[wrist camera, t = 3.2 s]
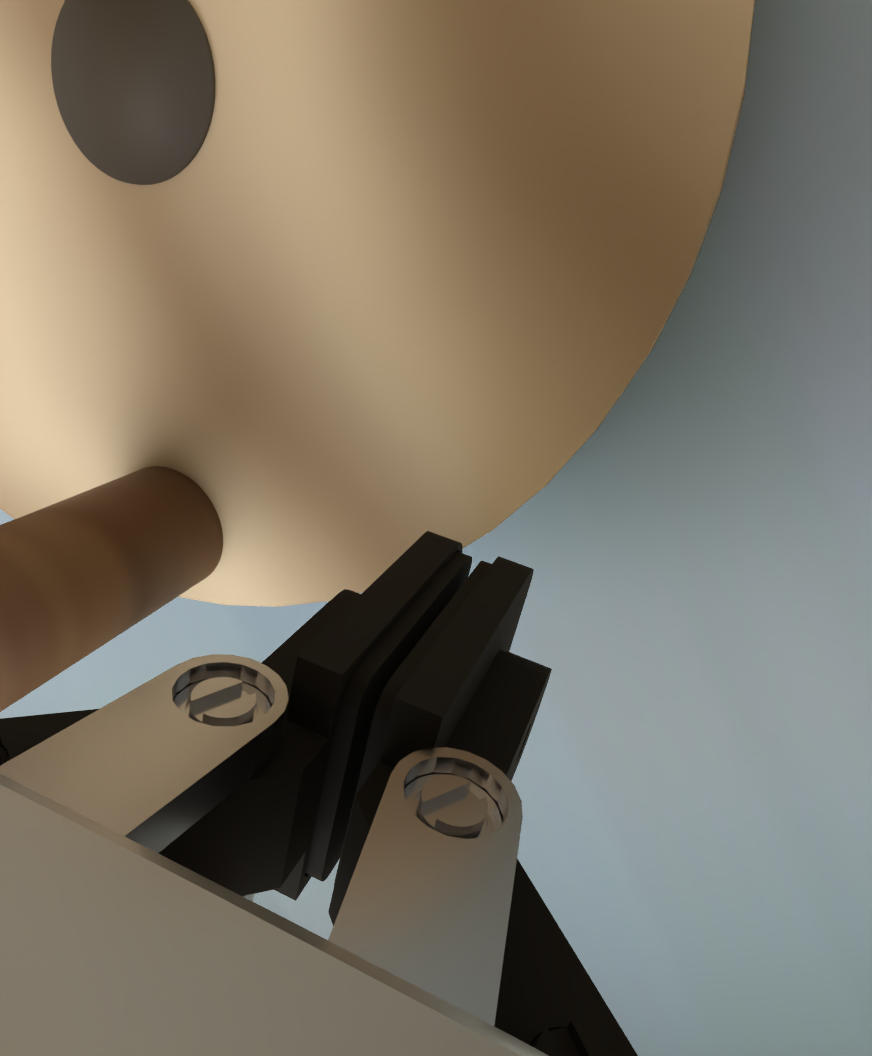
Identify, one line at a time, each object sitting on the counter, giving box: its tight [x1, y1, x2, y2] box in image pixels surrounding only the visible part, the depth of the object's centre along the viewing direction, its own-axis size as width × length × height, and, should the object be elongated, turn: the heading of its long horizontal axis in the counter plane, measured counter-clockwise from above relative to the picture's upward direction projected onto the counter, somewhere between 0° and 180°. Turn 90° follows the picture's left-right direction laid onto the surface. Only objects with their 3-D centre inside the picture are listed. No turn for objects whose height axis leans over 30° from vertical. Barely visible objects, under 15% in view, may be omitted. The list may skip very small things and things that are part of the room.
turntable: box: [0, 0, 755, 712], centre depth 10 cm, size 18×18×6 cm
